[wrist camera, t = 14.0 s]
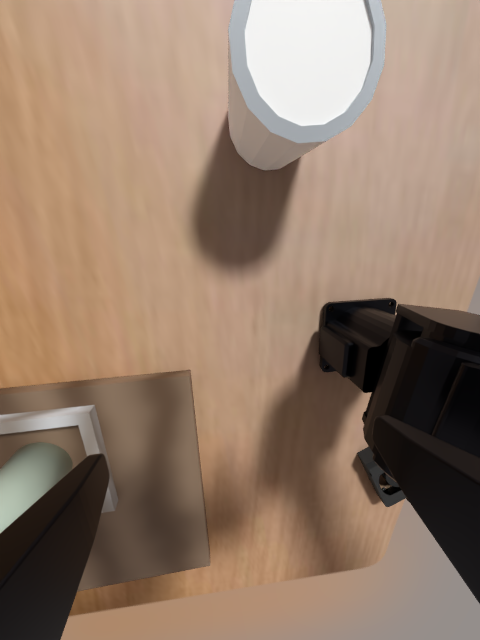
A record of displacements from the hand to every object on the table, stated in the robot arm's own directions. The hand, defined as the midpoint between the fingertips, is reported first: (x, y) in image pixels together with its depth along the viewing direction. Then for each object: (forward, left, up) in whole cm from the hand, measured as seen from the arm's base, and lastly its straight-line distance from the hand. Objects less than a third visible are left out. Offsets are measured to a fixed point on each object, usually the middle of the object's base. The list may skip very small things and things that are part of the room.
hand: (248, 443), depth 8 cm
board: (+13, +16, -13) cm, 24 cm away
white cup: (-4, -14, -13) cm, 20 cm away
